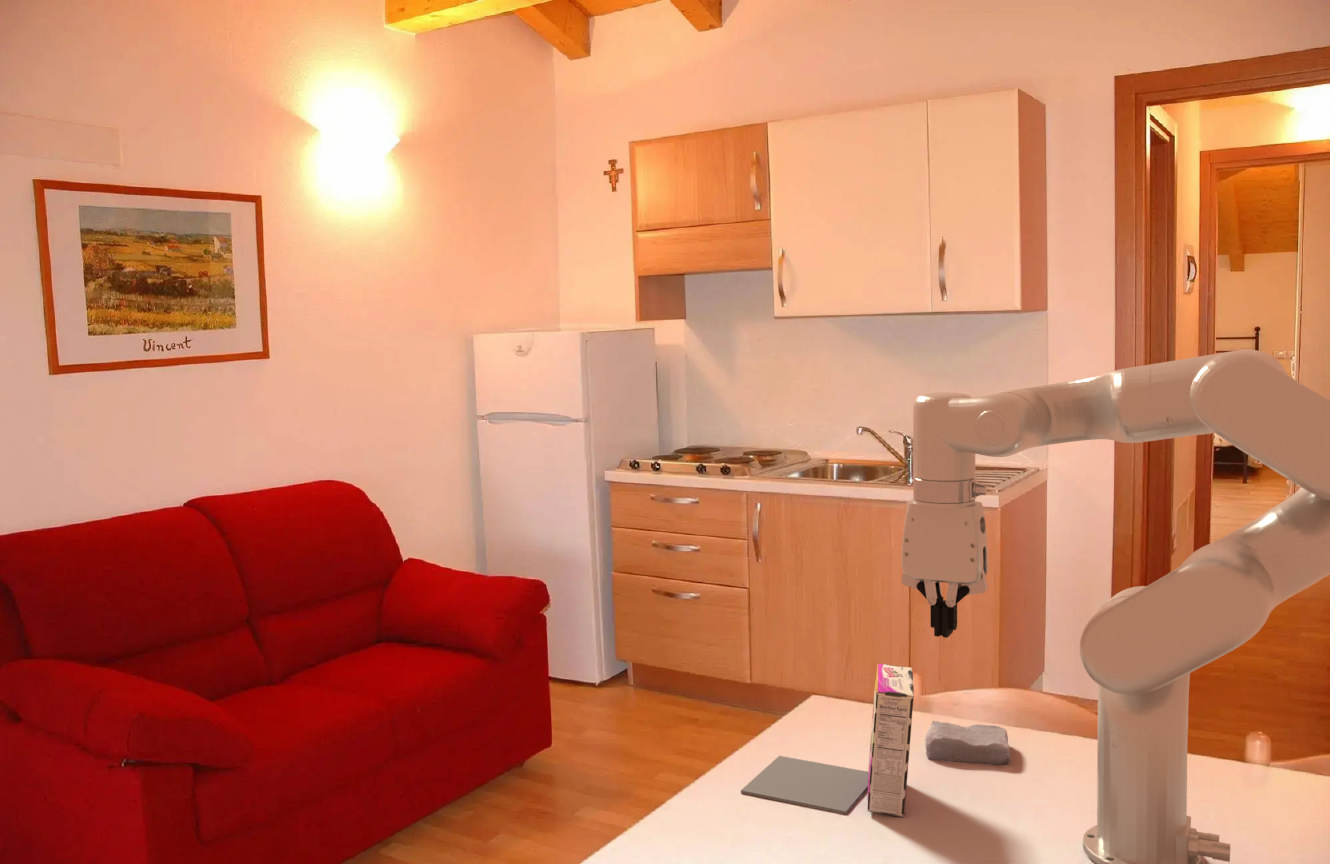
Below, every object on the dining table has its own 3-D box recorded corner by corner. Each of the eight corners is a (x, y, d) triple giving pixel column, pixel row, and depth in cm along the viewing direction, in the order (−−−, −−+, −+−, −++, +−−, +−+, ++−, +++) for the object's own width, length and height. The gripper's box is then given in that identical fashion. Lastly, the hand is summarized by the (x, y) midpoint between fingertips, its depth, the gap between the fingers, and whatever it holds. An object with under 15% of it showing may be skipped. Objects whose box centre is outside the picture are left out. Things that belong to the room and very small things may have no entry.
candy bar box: (866, 776, 149) (876, 662, 147) (903, 782, 148) (913, 666, 146) (864, 813, 138) (875, 689, 136) (904, 819, 137) (916, 695, 135)
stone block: (927, 749, 164) (923, 761, 154) (928, 716, 164) (924, 727, 155) (1008, 757, 161) (1010, 771, 151) (1009, 725, 161) (1011, 736, 151)
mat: (878, 776, 150) (878, 773, 150) (846, 814, 139) (846, 811, 139) (779, 758, 157) (779, 755, 157) (740, 793, 146) (740, 790, 146)
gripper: (1011, 490, 134) (1010, 633, 136) (895, 484, 142) (895, 620, 144) (998, 499, 128) (997, 650, 130) (876, 492, 135) (877, 635, 137)
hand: (943, 634), depth 137 cm, fingers closed
